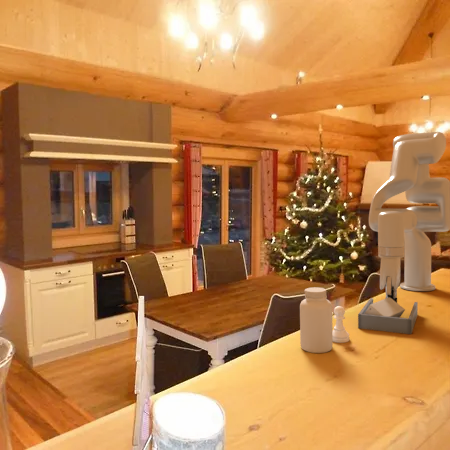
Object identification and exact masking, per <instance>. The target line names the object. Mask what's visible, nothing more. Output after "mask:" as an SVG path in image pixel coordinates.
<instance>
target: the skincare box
mask: <svg viewBox="0 0 450 450" xmlns="http://www.w3.org/2000/svg"><path fill="white" fill-rule="evenodd" d="M405 311H406V309H405V308H404V307H403V306H402V305H400V304H399V303H398V302H397V303H396V302H395V301H394V300H393V299H392V298H390V297H388V298H386V297H385V298H384V299H381V300H378V301H376V302H373V304H371V305H370V306H369V307H368V309H367V310H366V312H365V314H368V315H378V316H388V317H398V318H402V317H401V316H403V314H404V312H405Z"/></svg>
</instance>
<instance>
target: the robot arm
mask: <svg viewBox="0 0 450 450" xmlns="http://www.w3.org/2000/svg"><path fill="white" fill-rule="evenodd" d="M392 147H393V150H392V157H391V163H390V164H391V165H390V170H389V171H390V172H389V175H388V180H387V181H386V182H385V183H383V184H382V185H381V186H380V187H379V188H378V189H377V191H376V192H375V193H374V195H373V197H372V199H371V202H370V208H369V212H368V213H369V214H368V226H369V228H370V229H371V230H372V231H373V232H377V244H378V245H377V249H378V250H377V251H378V252H377V254H378V255H377V256H378V258H380V266H379V267H380V268H379V269H380V271H379V289H380V290H381V291H382V290H383V289H384V288H385V299H386V298H388V297H390V298H392V299H393V300H394V301H395V302H396V303H398V296H397V295H398V288H399V287H400V288H401V289H404V290H406V291H411V292H412V291H413V292H430V291H434V290H436V285H435V284H434V283H432V242H431V240H430V238H429V237H428V236H427V234H426V233H427V232H428V233H430V232H431V233H432V232H433V233H434V232H435V233H436V232H437V233H438V232H439V233H441V232H443V233H445V232H448V231H450V180H449V179H448V178H446V177H430V165H431V164H437V163H438V162H439V161H440V160H441V158H442V157H443V155H444V153H445V151H446V147H447V140H446V136H445V134H444V133H443V132H442V131H441V132H440V131H432V132H430V131H429V132H419V133H415V132H414V133H406V134H400V135H398V136H396V137H394V138H393V141H392ZM403 193H405V199H406V200H407V202H408V203H411V204H436V205H437V206H432V205H431V206H429V205H428V206H427V205H424V206H422V205H421V206H419V205H418V206H417V205H415V206H409V207H407V208H382V206H383V205H384V204H385V202H387V201H388V200H389V199H391V198H393V197H395V196H397V195H400V194H403ZM425 232H426V233H425ZM402 258H404V274H403V275H404V276H403V277H404V281H403V282H401V259H402Z"/></svg>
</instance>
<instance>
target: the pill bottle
mask: <svg viewBox="0 0 450 450" xmlns="http://www.w3.org/2000/svg"><path fill="white" fill-rule="evenodd" d="M327 298H328V297H327V289H325V288H324V287H318V286H317V287H315V286H314V287H308V288H305V289H304V299H303V300H301V302H300V304H299V325H300V326H299V328H300V329H299V331H300V333H299V335H300V336H299V337H300V338H299V339H300V348H301V349H302V350H304V351H305V352H309V353H314V354H321V353H322V354H323V353H327V352H330V351H331V350H332V349H333V344H334V343H333V335H332V331H333V304H332V302H331V301H330V300H329V299H327Z"/></svg>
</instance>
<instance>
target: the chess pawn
mask: <svg viewBox="0 0 450 450" xmlns="http://www.w3.org/2000/svg"><path fill="white" fill-rule="evenodd" d="M333 313H334V316H333V319H335V320H336V321H335V325H334V327H333V329H332V335H333V342H334V343H338V344H339V343H340V344H342V343H348V342H349V341H350V333H349V332H348V331H347V330H346V327H345V326H344V323H343V320H346V317H345V314H346V310H345V308H344V307H343V306H340V305H338V306H336V307H334V308H333Z"/></svg>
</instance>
